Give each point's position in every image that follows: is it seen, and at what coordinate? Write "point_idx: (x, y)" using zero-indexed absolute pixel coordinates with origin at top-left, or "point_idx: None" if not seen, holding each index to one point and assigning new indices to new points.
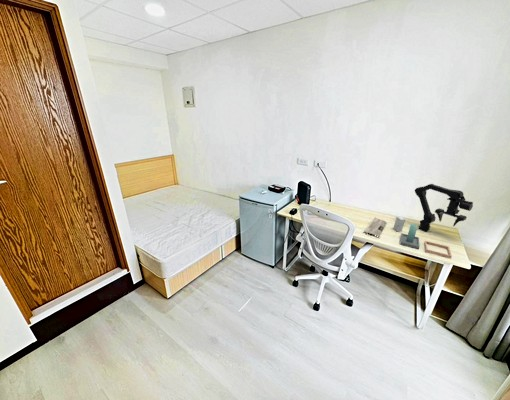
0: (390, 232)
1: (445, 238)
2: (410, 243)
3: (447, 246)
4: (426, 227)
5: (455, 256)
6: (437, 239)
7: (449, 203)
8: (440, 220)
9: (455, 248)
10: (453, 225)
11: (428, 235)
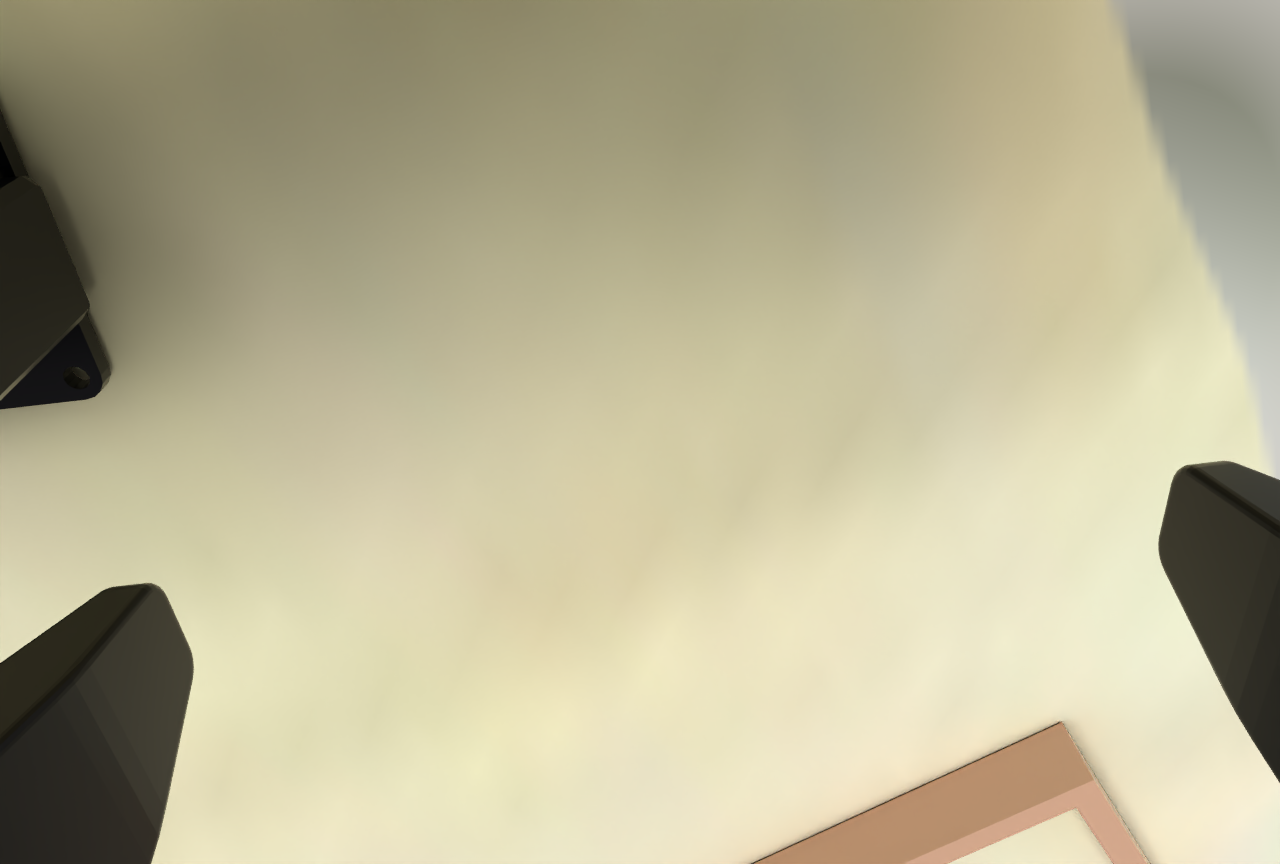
0: None
1: (755, 204)
2: None
3: (1069, 803)
4: None
5: (1254, 844)
6: (669, 524)
7: None
8: (158, 799)
9: None
10: (1211, 635)
11: (379, 533)
